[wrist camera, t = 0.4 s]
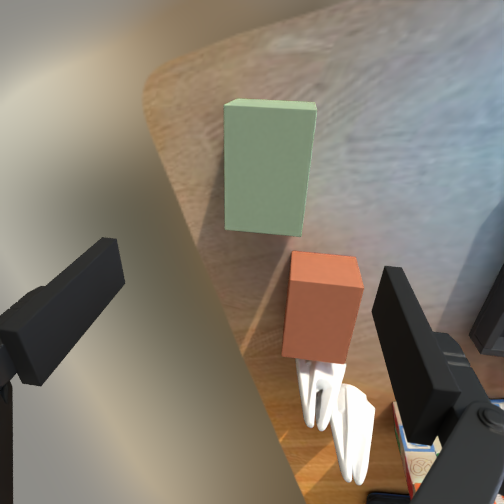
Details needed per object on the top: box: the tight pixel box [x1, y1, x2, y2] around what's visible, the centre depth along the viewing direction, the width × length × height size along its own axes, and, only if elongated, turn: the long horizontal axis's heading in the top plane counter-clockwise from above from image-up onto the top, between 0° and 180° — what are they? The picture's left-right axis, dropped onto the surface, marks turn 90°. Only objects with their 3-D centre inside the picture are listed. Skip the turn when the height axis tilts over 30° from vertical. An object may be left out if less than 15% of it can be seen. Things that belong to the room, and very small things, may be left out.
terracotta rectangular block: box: [281, 251, 364, 365], centre depth 31 cm, size 9×6×5 cm, turn 178°
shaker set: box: [295, 358, 375, 485], centre depth 34 cm, size 12×4×11 cm, turn 36°
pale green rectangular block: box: [224, 99, 317, 237], centre depth 25 cm, size 9×6×5 cm, turn 178°
